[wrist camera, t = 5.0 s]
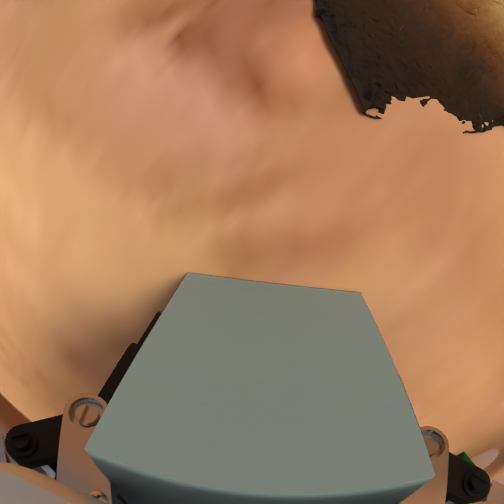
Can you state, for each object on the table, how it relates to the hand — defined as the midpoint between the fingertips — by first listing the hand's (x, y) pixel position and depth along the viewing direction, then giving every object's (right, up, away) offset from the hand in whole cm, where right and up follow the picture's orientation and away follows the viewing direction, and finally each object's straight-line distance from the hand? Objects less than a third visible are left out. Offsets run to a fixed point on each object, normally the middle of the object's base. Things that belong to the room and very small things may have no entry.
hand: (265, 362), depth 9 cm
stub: (0, 0, +1) cm, 1 cm away
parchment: (+14, +14, -5) cm, 20 cm away
